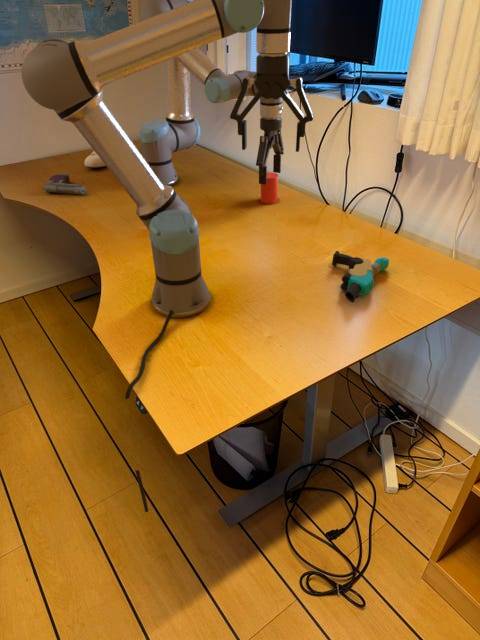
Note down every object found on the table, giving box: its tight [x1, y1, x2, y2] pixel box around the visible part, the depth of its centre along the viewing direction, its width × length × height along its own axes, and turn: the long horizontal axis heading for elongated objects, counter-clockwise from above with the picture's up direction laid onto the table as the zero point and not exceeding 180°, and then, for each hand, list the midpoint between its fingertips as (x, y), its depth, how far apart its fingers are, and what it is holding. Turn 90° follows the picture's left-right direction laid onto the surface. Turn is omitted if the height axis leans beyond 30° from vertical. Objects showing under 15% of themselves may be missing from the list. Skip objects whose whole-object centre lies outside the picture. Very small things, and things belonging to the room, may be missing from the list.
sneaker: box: [83, 150, 107, 169], centre depth 218 cm, size 10×29×12 cm, turn 163°
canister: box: [260, 171, 279, 205], centre depth 178 cm, size 6×6×10 cm
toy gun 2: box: [331, 250, 390, 303], centre depth 132 cm, size 4×26×15 cm
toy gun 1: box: [42, 173, 87, 195], centre depth 192 cm, size 4×19×15 cm
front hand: (270, 149), depth 120 cm, fingers open, 13 cm apart
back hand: (269, 178), depth 176 cm, fingers open, 13 cm apart
